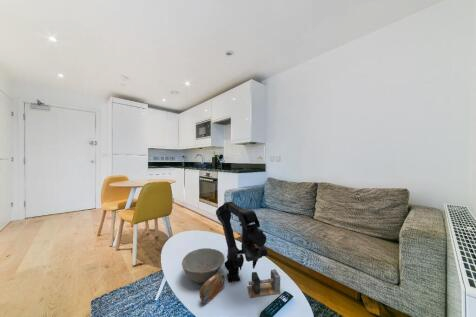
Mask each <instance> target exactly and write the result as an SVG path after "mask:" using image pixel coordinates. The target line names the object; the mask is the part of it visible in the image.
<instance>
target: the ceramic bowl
mask: <svg viewBox="0 0 476 317" xmlns="http://www.w3.org/2000/svg"><path fill="white" fill-rule="evenodd" d="M225 260H226V259H225V255H224V253H223V252H221V251H220V250H218V249H215V248H209V247H208V248H206V247H205V248H198V249H195V250H192V251H190V252H188V253H187V254H186V255H185V256H184V257H183V258H182V260H181V267H182V269H183V271H184V273H185V274H186V275H187V277H188V278H189V279H190V280H191V281H193V282H195V283H197V284H202V283H205V282H206V281H207V280H209V279H210V278H211V277H212V276H214V275H215V274H216V273H219V271H220V269H221V268H222V266H223V265H224V263H225V262H226V261H225Z"/></svg>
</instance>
